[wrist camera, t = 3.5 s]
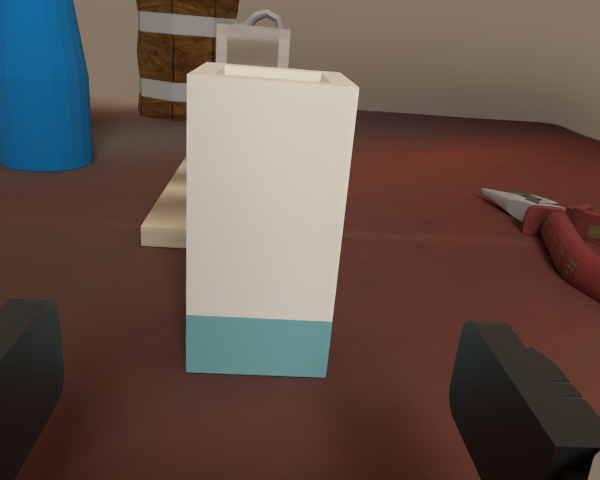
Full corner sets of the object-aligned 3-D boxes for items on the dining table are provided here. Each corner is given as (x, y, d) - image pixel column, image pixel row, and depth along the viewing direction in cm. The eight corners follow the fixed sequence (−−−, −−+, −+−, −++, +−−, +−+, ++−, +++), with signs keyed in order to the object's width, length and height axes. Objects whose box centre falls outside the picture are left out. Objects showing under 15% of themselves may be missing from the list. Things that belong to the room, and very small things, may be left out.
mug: (119, 116, 69) (114, -14, 64) (153, 102, 82) (151, -8, 76) (273, 130, 69) (281, 0, 63) (284, 114, 81) (291, 4, 76)
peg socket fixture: (329, 256, 33) (352, 38, 28) (141, 245, 32) (134, 20, 27) (308, 170, 51) (321, 31, 47) (189, 162, 50) (190, 20, 46)
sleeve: (325, 377, 21) (359, 87, 17) (185, 372, 21) (186, 74, 17) (315, 309, 26) (339, 72, 22) (202, 304, 26) (206, 62, 22)
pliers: (547, 203, 49) (555, 174, 48) (782, 314, 31) (801, 273, 30) (433, 205, 46) (438, 175, 45) (621, 331, 28) (636, 285, 27)
